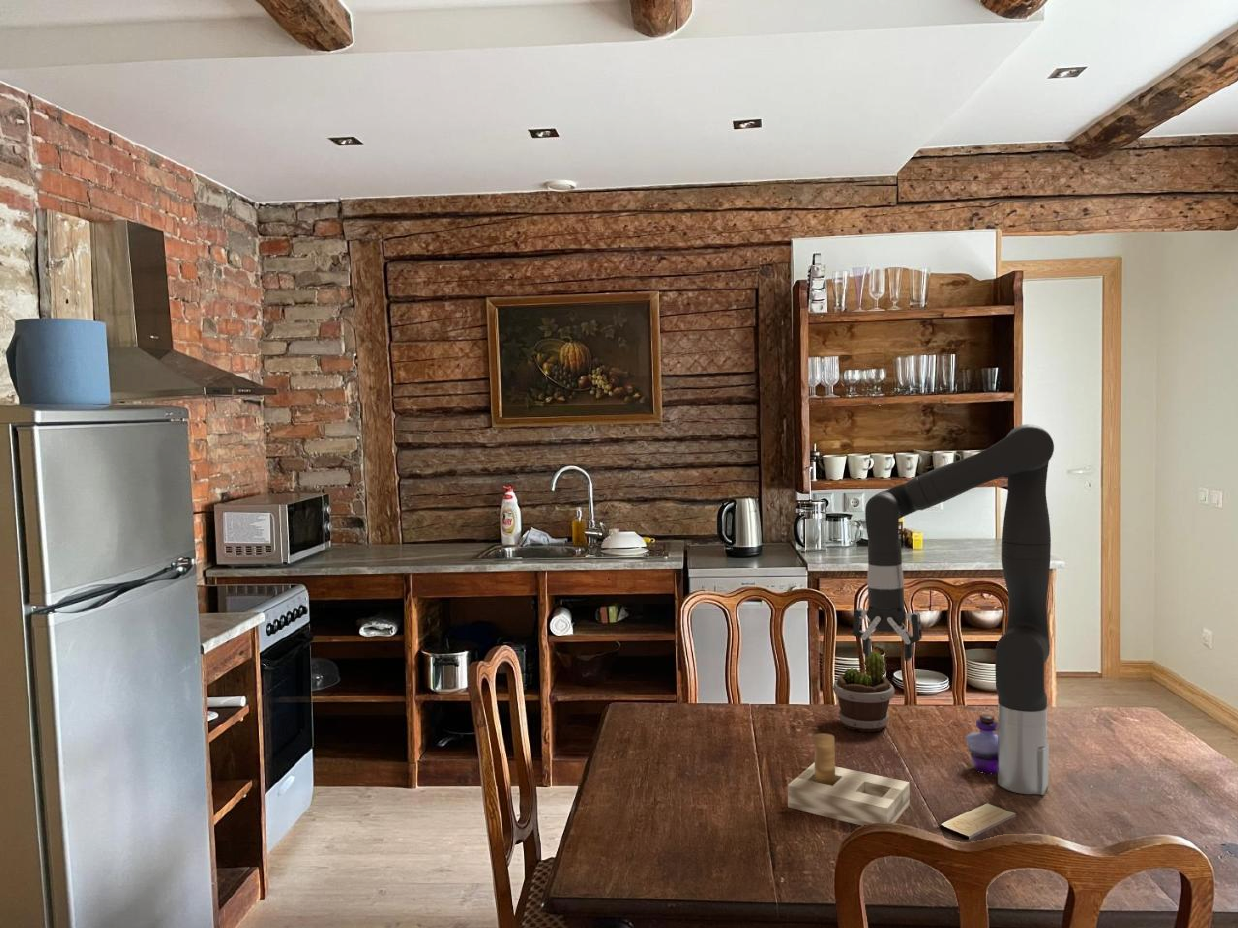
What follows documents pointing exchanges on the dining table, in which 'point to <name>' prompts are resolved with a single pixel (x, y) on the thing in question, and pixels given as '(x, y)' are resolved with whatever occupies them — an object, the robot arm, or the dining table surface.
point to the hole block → (850, 796)
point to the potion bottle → (984, 745)
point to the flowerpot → (864, 695)
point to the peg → (824, 758)
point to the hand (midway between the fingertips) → (887, 658)
